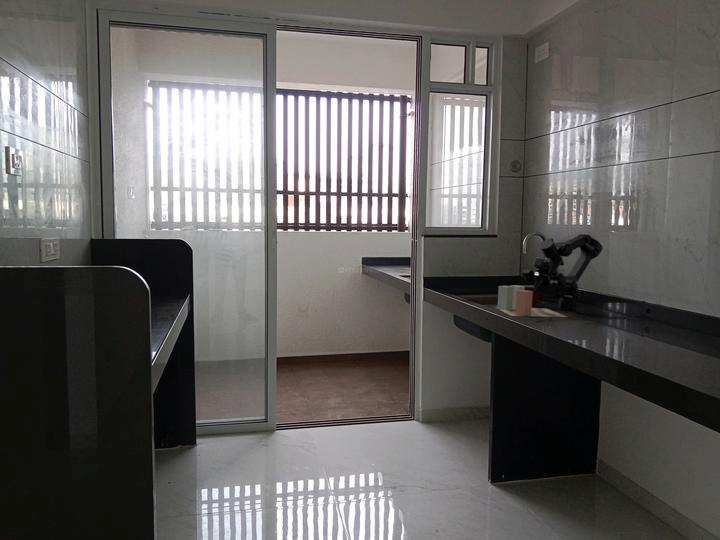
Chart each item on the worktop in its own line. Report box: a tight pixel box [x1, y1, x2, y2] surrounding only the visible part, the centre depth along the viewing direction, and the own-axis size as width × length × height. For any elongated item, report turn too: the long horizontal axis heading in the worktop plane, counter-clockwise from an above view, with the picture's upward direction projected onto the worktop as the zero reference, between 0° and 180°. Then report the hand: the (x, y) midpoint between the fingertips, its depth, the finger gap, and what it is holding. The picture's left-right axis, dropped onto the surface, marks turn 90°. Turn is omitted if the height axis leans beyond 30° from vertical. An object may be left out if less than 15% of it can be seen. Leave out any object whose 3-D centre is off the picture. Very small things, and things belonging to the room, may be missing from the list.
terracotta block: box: [515, 290, 533, 317], centre depth 232 cm, size 4×4×10 cm
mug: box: [522, 284, 545, 307], centre depth 261 cm, size 10×8×10 cm
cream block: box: [510, 284, 525, 309], centre depth 250 cm, size 4×4×10 cm
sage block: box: [496, 285, 514, 310], centre depth 247 cm, size 4×4×10 cm
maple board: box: [494, 306, 568, 318], centre depth 242 cm, size 24×23×1 cm
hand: (534, 291), depth 236 cm, fingers closed
